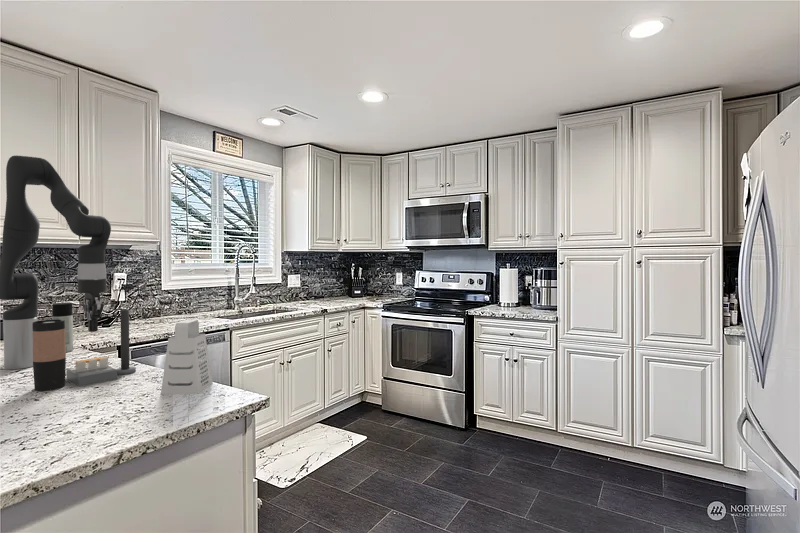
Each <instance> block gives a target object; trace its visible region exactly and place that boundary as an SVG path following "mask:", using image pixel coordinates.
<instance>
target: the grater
mask: <svg viewBox="0 0 800 533" xmlns="http://www.w3.org/2000/svg"><path fill="white" fill-rule="evenodd" d="M199 323H200V322H199V321H198V320H197V319H192V320H191V319H186V320H185V319H184V320H181V321H178V322H176V323H175V325H174V336H170V337H168V339H167V346H166V353H165V361H164V368H163V373H162V374H163V375H162V383H161V390H160V395H198V394H201V393H202V392H203V391H204V390H206V388H208V387H209V386H211V385H213V382H214V381H213V375H212V369H211V365H210V364H211V363H210V358H209V349H208V345H207V338H206V333H199V332H200V324H199ZM178 384H190V385H178Z"/></svg>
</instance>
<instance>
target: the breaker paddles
mask: <svg viewBox="0 0 800 533" xmlns="http://www.w3.org/2000/svg"><path fill="white" fill-rule="evenodd" d="M108 362H109V357H108V356H101V357H100V356H99V357H94V358H92V357H91V358H87V359H80V360H76V361H75V368H76V372H81V371H85V368H86V366H87V369H88V370H93V369H97V364H98V367H99V368H104V367H107V365H108ZM108 366H109V365H108Z"/></svg>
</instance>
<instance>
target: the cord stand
mask: <svg viewBox="0 0 800 533" xmlns="http://www.w3.org/2000/svg"><path fill="white" fill-rule="evenodd" d="M115 369H116V370H117V376H122V375H131V374H133V373H136V369H137V368H136V367H135V366H130V309H121V310H120V367H119V368H115Z"/></svg>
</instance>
